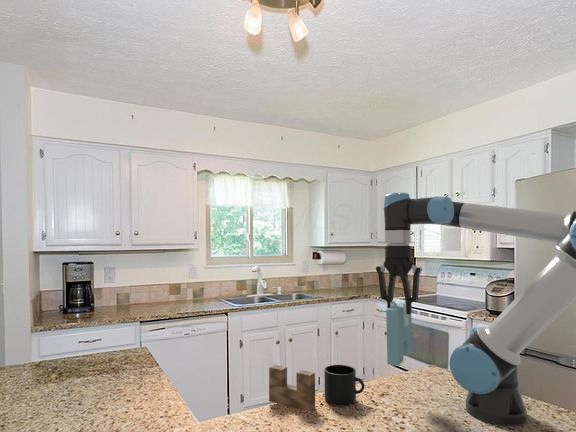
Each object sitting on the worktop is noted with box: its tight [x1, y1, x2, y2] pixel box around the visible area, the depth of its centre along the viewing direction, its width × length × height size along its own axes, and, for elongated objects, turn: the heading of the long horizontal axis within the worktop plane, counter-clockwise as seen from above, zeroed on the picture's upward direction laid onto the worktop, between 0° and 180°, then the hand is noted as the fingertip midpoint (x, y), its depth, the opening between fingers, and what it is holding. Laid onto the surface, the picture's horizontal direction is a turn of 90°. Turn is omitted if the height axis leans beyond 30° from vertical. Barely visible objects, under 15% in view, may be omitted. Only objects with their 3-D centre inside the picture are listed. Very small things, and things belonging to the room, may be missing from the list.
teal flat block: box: [385, 301, 413, 367], centre depth 114 cm, size 16×3×15 cm, turn 149°
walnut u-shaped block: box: [268, 364, 316, 412], centre depth 115 cm, size 14×3×10 cm, turn 59°
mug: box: [323, 364, 365, 407], centre depth 118 cm, size 9×12×9 cm
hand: (399, 324), depth 114 cm, fingers closed on teal flat block, 3 cm apart
